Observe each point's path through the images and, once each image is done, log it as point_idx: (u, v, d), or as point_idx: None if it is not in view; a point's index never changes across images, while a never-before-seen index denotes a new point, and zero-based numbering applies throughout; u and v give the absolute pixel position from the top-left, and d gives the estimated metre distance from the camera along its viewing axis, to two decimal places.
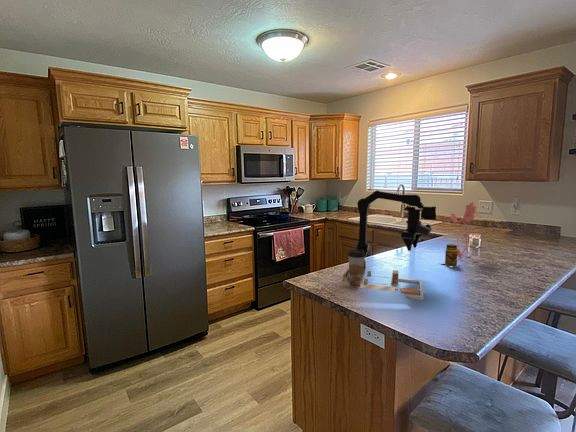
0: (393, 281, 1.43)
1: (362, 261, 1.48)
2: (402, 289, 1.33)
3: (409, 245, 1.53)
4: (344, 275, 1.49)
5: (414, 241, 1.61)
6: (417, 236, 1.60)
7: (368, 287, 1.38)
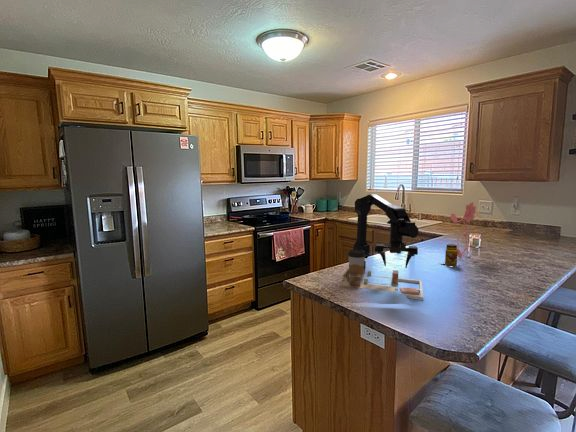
0: (393, 281, 1.43)
1: (362, 261, 1.48)
2: (402, 289, 1.33)
3: (383, 259, 1.46)
4: (344, 275, 1.49)
5: (406, 260, 1.42)
6: (407, 255, 1.41)
7: (368, 287, 1.38)
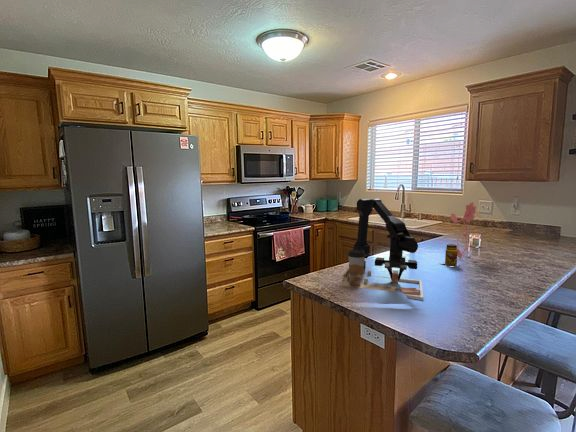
0: (393, 281, 1.43)
1: (362, 261, 1.48)
2: (402, 289, 1.33)
3: None
4: (344, 275, 1.49)
5: None
6: None
7: (368, 287, 1.38)
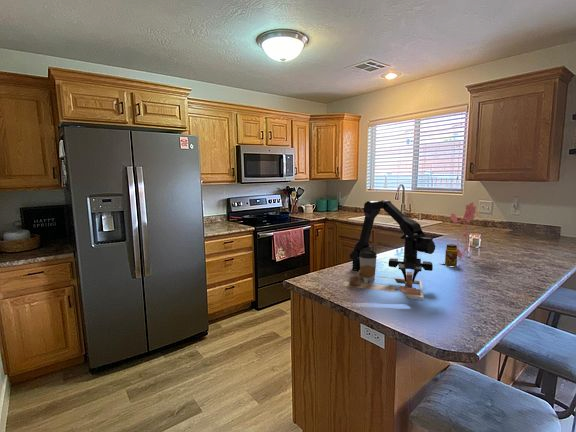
0: (407, 282, 1.41)
1: (374, 262, 1.46)
2: (402, 289, 1.33)
3: None
4: None
5: (413, 275, 1.42)
6: (414, 270, 1.40)
7: (368, 287, 1.38)
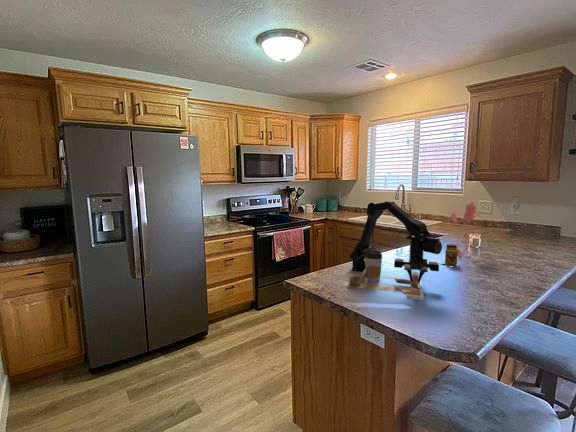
0: (413, 283, 1.40)
1: (379, 262, 1.45)
2: (402, 289, 1.33)
3: (409, 276, 1.42)
4: (362, 277, 1.46)
5: (419, 276, 1.41)
6: (420, 271, 1.39)
7: (368, 287, 1.38)
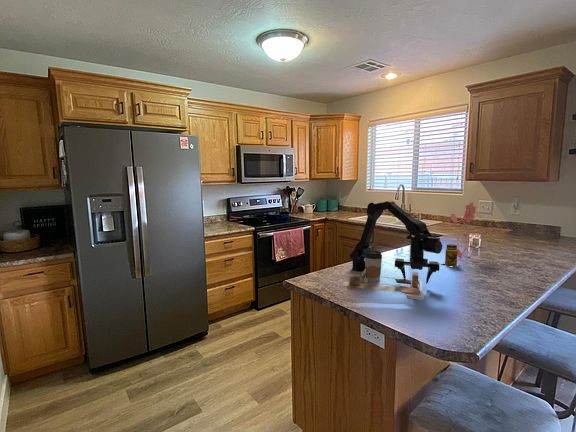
0: (413, 283, 1.40)
1: (379, 262, 1.45)
2: (402, 289, 1.33)
3: None
4: (362, 277, 1.46)
5: None
6: (428, 271, 1.38)
7: (368, 287, 1.38)
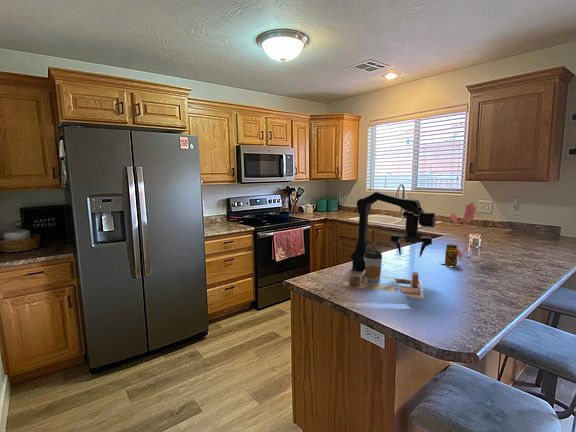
0: (413, 283, 1.40)
1: (379, 262, 1.45)
2: (402, 289, 1.33)
3: (398, 249, 1.54)
4: (362, 277, 1.46)
5: (420, 250, 1.51)
6: (421, 245, 1.49)
7: (368, 287, 1.38)
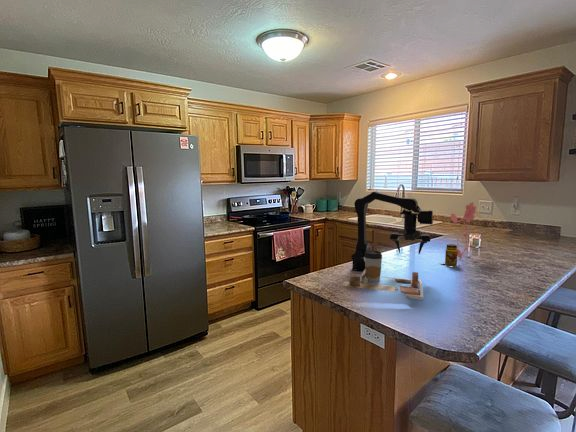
0: (413, 283, 1.40)
1: (379, 262, 1.45)
2: (402, 289, 1.34)
3: None
4: (362, 277, 1.46)
5: (419, 247, 1.54)
6: (420, 243, 1.52)
7: (368, 287, 1.38)
